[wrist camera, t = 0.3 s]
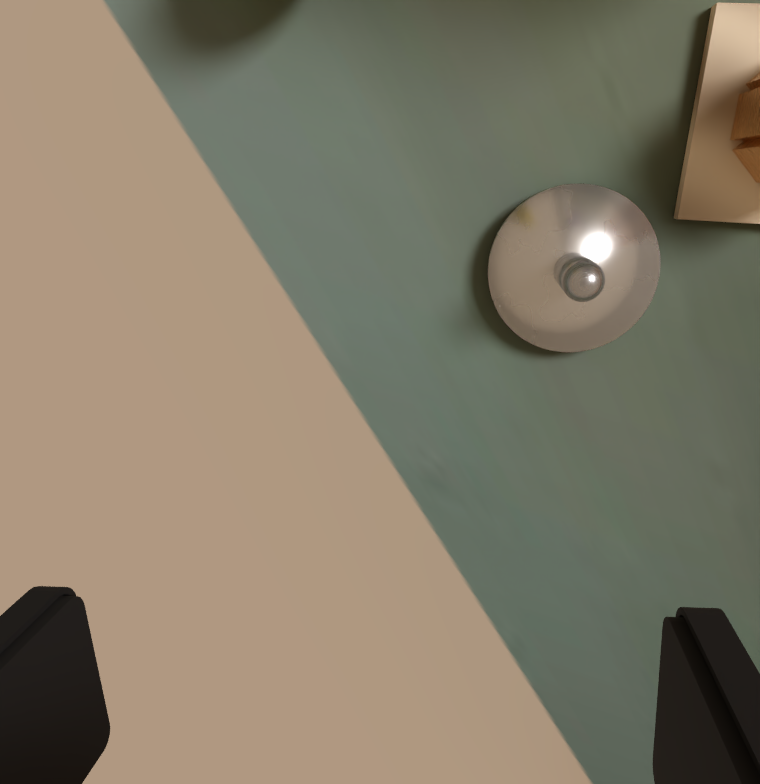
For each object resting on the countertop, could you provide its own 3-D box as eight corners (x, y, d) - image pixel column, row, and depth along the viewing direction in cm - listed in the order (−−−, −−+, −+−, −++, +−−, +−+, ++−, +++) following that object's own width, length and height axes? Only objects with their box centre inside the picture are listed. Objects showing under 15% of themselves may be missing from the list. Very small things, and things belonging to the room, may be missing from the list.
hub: (496, 179, 36) (499, 178, 30) (668, 188, 35) (706, 189, 29) (480, 340, 39) (480, 368, 33) (639, 353, 38) (668, 384, 32)
